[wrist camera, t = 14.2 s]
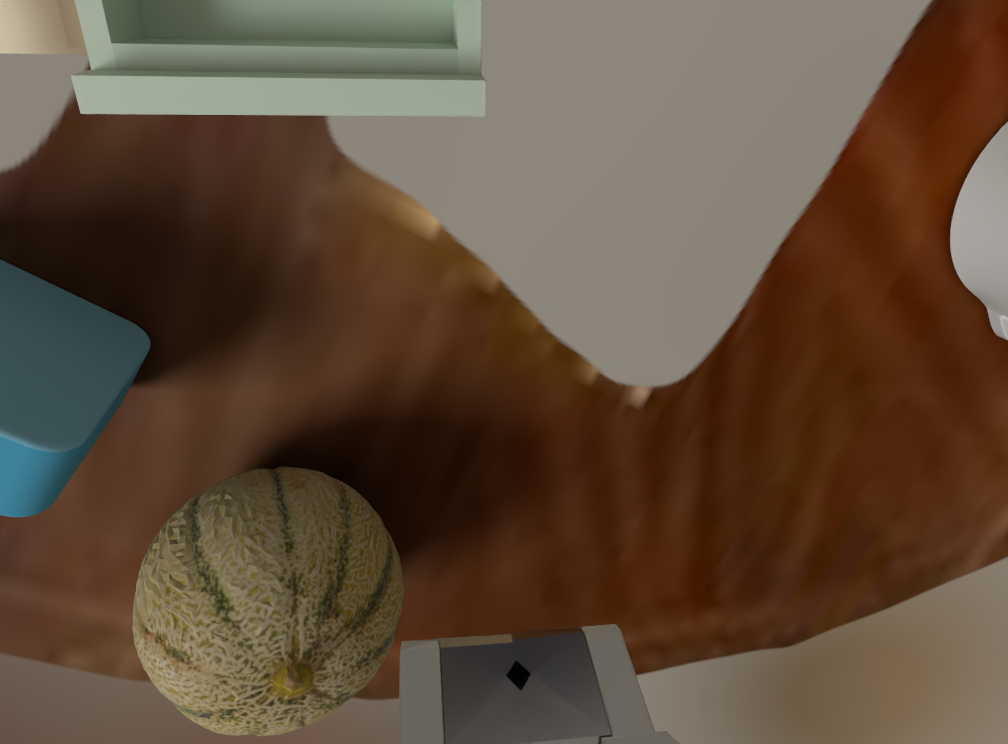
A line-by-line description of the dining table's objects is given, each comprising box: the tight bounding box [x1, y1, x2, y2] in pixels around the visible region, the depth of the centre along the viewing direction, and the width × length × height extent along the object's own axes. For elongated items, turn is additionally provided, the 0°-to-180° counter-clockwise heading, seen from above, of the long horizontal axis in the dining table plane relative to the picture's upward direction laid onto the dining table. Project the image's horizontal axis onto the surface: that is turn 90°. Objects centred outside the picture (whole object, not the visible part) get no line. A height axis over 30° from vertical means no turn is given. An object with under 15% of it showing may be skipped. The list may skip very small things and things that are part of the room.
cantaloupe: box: [133, 467, 403, 736], centre depth 40 cm, size 15×15×15 cm
